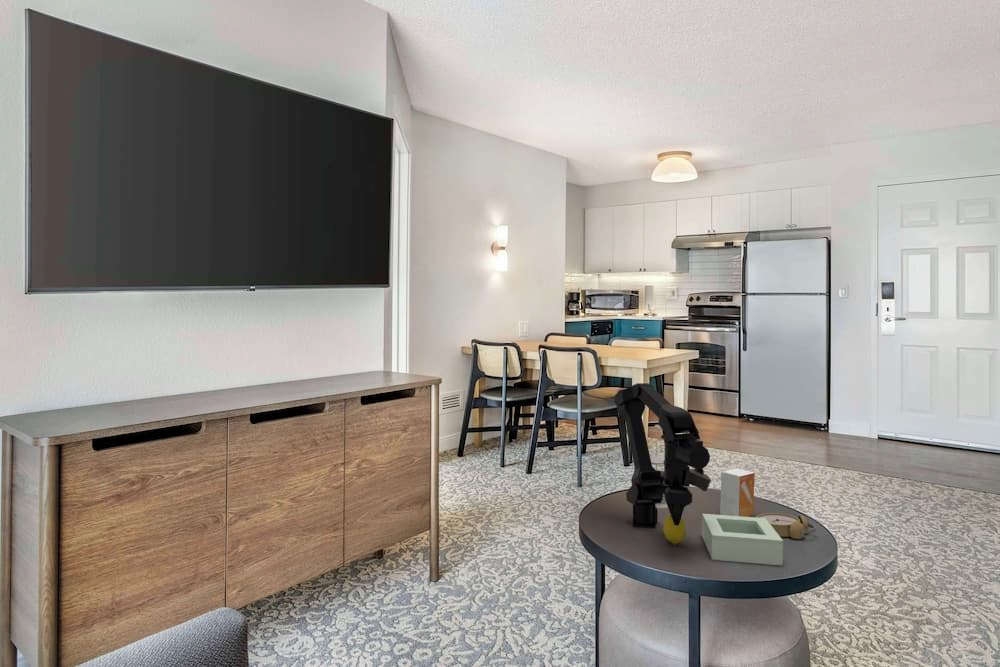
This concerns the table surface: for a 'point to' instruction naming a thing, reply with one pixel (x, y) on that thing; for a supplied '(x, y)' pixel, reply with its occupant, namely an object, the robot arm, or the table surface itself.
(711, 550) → the pale green square tray
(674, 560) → the table surface
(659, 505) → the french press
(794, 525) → the alarm clock
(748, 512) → the small box
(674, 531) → the lemon
